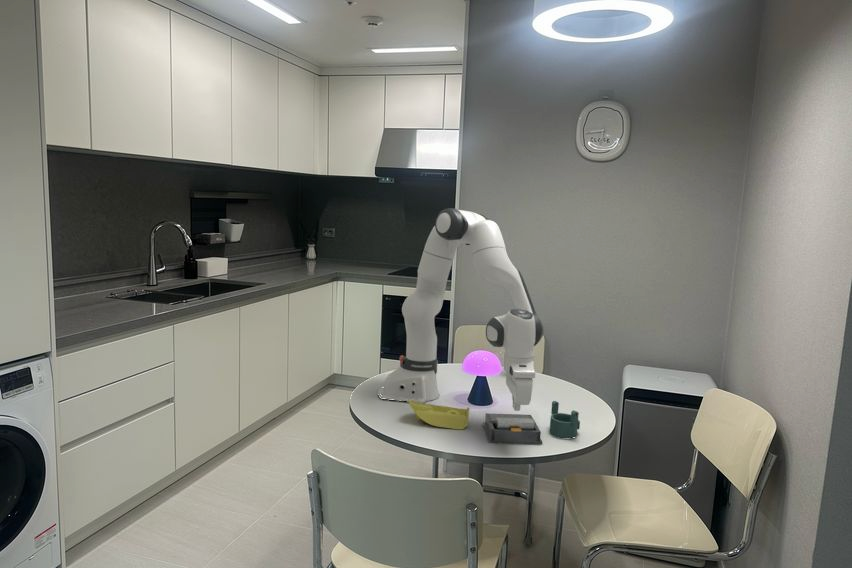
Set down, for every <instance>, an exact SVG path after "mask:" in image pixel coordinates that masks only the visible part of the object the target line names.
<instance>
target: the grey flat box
mask: <svg viewBox="0 0 852 568" xmlns="http://www.w3.org/2000/svg"><path fill="white" fill-rule="evenodd" d="M496 418H528V419H532V420H533V421H534V430H521V428H511V430H499V429H495V427H496ZM484 420H485V421H484V422H482V426H483V427H482V428H483V429H484V433H485V435H486V439H487V442H488V444H489V443H490V444H512V445H514V444H517V445H519V444H520V445H521V444H522V445H543V440H542V438H541V436H542V435H541V434H542V431H541V430H540V429H539V427H538V425H537V423H536V421H535V419H534V417H533V416H532V414H518V413H515V414H514V413H513V414H512V413H489V412H488V413H485V419H484Z"/></svg>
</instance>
